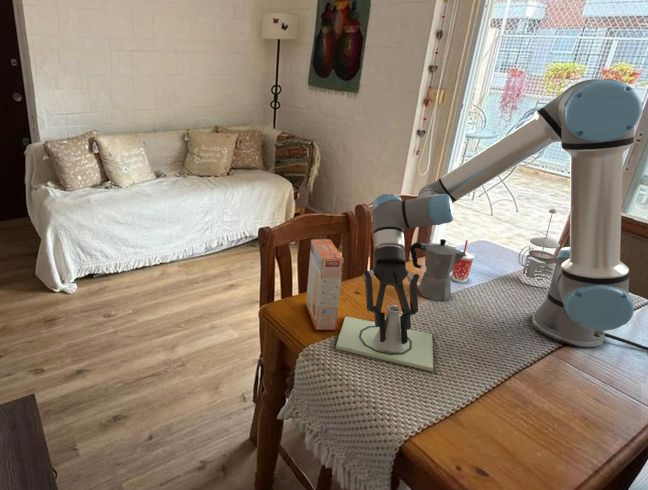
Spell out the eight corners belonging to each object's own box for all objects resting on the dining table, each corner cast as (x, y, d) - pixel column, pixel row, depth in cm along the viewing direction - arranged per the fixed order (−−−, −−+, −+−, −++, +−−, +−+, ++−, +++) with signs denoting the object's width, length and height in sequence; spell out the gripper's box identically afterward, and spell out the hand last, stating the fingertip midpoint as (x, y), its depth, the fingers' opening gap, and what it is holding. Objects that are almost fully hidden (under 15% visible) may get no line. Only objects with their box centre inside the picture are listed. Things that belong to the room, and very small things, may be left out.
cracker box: (337, 331, 116) (344, 258, 109) (314, 331, 116) (320, 258, 109) (325, 304, 129) (331, 238, 122) (305, 304, 129) (310, 238, 122)
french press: (560, 288, 140) (581, 214, 132) (523, 288, 140) (542, 213, 132) (540, 275, 149) (558, 204, 141) (505, 274, 149) (521, 204, 141)
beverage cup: (450, 273, 150) (458, 235, 145) (471, 278, 146) (479, 239, 142) (447, 280, 145) (454, 240, 140) (468, 285, 141) (476, 245, 137)
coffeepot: (458, 292, 137) (469, 238, 131) (456, 305, 129) (467, 249, 123) (406, 280, 144) (414, 229, 138) (401, 292, 136) (409, 238, 131)
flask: (400, 336, 111) (405, 301, 108) (408, 353, 104) (414, 317, 101) (370, 334, 112) (375, 300, 108) (377, 351, 105) (381, 315, 102)
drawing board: (431, 337, 113) (432, 333, 113) (432, 371, 100) (433, 367, 100) (345, 319, 122) (345, 315, 121) (335, 348, 108) (336, 345, 108)
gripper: (420, 258, 116) (427, 348, 105) (352, 253, 118) (353, 341, 108) (428, 247, 109) (437, 342, 99) (357, 242, 111) (358, 335, 101)
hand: (393, 341), depth 103 cm, fingers closed on flask, 4 cm apart
